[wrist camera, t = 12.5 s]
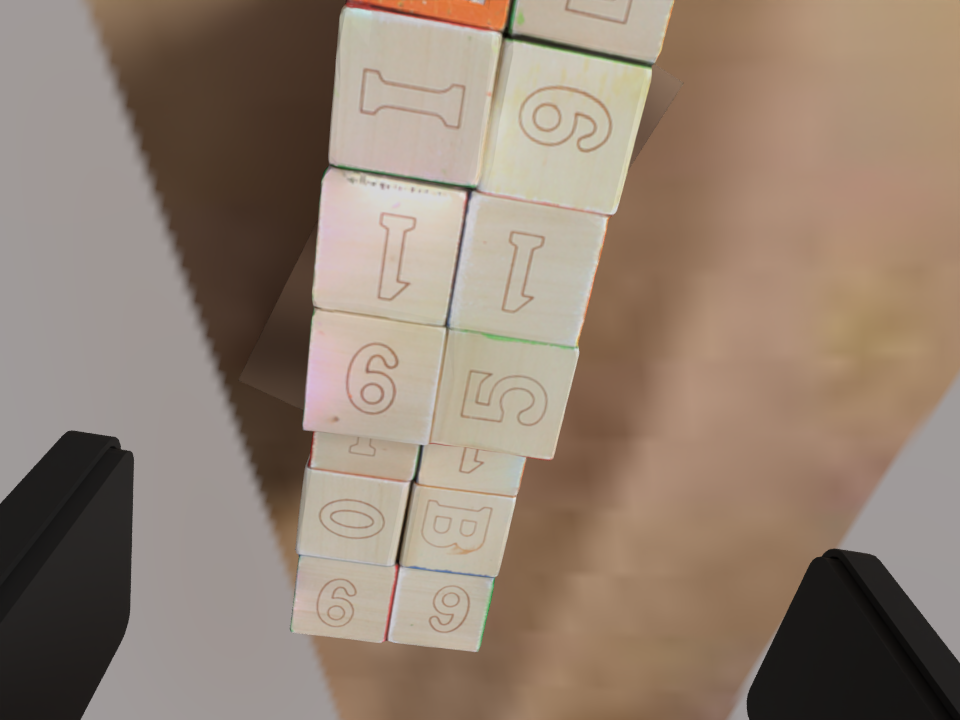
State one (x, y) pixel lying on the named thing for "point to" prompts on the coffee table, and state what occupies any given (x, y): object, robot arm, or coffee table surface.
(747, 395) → the coffee table surface
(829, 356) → the coffee table surface
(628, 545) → the coffee table surface
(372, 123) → the stack of blocks
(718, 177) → the coffee table surface
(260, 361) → the walnut block
